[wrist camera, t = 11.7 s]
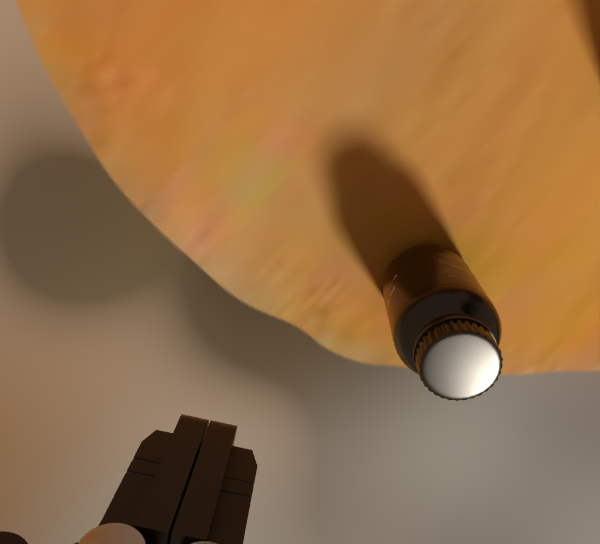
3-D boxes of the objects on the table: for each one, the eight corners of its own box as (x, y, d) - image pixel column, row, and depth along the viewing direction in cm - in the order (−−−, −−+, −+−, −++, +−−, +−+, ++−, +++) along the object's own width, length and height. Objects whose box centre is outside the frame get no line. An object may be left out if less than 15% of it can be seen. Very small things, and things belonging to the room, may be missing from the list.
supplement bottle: (365, 270, 40) (378, 347, 29) (443, 226, 39) (489, 289, 28) (407, 337, 42) (435, 432, 31) (484, 297, 41) (542, 383, 29)
